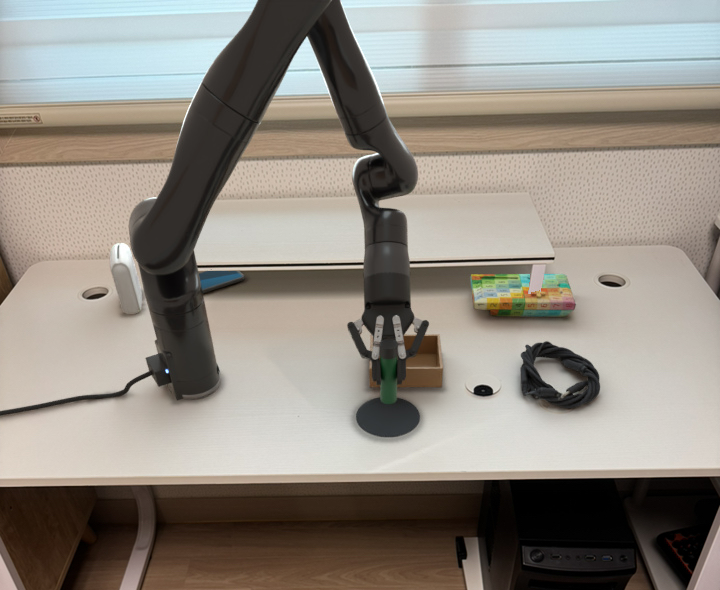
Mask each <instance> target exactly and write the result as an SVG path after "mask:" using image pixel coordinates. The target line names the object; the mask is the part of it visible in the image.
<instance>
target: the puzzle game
mask: <svg viewBox="0 0 720 590" xmlns="http://www.w3.org/2000/svg"><path fill="white" fill-rule="evenodd" d="M530 274H531V273H487V274H486V273H485V274H477V273H476V274H475V273H473V274H470V279H469V280H470V288H471V295H472V302H473V308H474V309H475V310H478V311H479V310H480V311H489V314H490V315H491V316H492V317H547V318H548V317H554V318H555V317H556V318H557V317H558V318H560V317H561V318H563V317H567V316H568V315H569V314H571V313H572V312H573V311H575V310H576V305H577V304H576V301H575V297H574V294H573V292H572V291H573V290H572V288H571V286H570V283H569V279H568V275H567V274H564V273H543V274H544V280H543V284H542V288H541V292H540V290H539V291H535V292H531V294H528V290H529V282H530Z"/></svg>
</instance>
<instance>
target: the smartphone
mask: <svg viewBox="0 0 720 590" xmlns="http://www.w3.org/2000/svg"><path fill="white" fill-rule="evenodd" d="M199 277H200V281H201V286H202V292H203V294H207V293H209V292H212V291H216V290H219V289H221V288H224V287H227V286H230V285H233V284H236V283H240V282H242V281H244V280H245V279H246V276H245V274H244V273H242V272H241V271H240V270H239V271H230V272H229V271H208V270H205V271H202V272H199Z"/></svg>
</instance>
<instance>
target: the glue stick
mask: <svg viewBox="0 0 720 590" xmlns="http://www.w3.org/2000/svg"><path fill="white" fill-rule="evenodd" d="M397 356H398V342H397V341H396V340H394V339H384V340H382V341H381V342H380V367H381V385H380V387H379V392H380V393H379V397H380V400H381V402H383V403H385V404H392V403H395V402H396V400H397V398H398V387H397Z"/></svg>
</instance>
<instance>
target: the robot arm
mask: <svg viewBox="0 0 720 590" xmlns="http://www.w3.org/2000/svg"><path fill="white" fill-rule="evenodd" d="M306 39H307V41H308V43H309V45H310V48H311V49H312V52H313V55H314V57H315V60H316V63H317V65H318V67H319V70H320V73H321V76H322V78H323V81H324V85H325V86H326V89H327V91H328V95H329V97H330V100H331V102H332V105H333V107H334V111H335V113H336V116H337V118H338V121H339V123H340V126H341V128H342V131H343V133H344V136H345V138H346V140H347V143H348V144H349V146H350V147H351V148H352V149H354V150H357V151H358V150H359V151H369V152H370V151H371V152H375V153H373V154H368V155H364V156H362V157H359V158H358V159H357V160H356V162H355V163H354V165H353V168H352V171H351V181H352V186H353V189H354V192H355V195H356V199H357V202H358V206H359V210H360V213H361V218H362V222H363V239H364V243H363V244H364V256H363V266H362V267H363V273H362V276H363V305H364V307H363V312H362V315H361V318H359V319H357V320H355V321H349V322H347V324H346V326H347V331H348V333H349V336H350V337H351V340H352V341H353V343H354V345H355V348H356V349H357V352H358V353H359V355H360V357H361V358H362V359H363V360H364V359H365V360H368V361H369V362H370V361H371V363H372V379H373V381H376V385H381V367H380V360H379V355H380V342H381V341H382V340H384V339H394V340H396V341H397V342H398V360H397V385H400V384H402V381H405V378H406V360H407V359H409V358H411V357H412V358H413V357H415V356H416V354H417V352H418V349H419V347H420V345H421V342H422V340H423V338H424V336H425V334H427V331H428V329H429V326H430V322H429V321H428V319H424V320H423V319H420V318H417V317H415V314H414V312H413V310H412V300H411V299H412V298H411V297H412V296H411V262H410V256H409V240H408V236H409V235H408V233H409V232H408V219H407V215H406V213H404V212H403V211H402V210H401V209H397V208H392V207H380V201H385V200H390V199H395V198H398V197H403V196H404V197H405V196H407V195H410V194H411V193H413V191H414V190H415V189H416V187H417V185H418V180H419V169H418V165H417V162H416V159H415V158H414V156H413V153H412V152H411V150H410V149H409V147H408V146H407V145H406V142H405V141H403V139H402V138H401V136H400V135H399V133H398V131H397V130H396V128H395V127H394V125H393V123H392V122H391V120H390V118H389V116H388V112H387V109H386V106H385V103H384V100H383V98H382V97H383V96H382V95H381V91H380V88H379V86H378V83H377V81H376V78H375V76H374V74H373V71H372V69H371V66H370V65H369V63H368V60H367V59H366V57H365V55H364V52H363V50H362V48H361V47H360V44H359V43H358V40H357V38H356V36H355V34H354V30H353V29H352V27H351V24H350V22H349V19H348V17H347V14H346V11H345V7H344V5H343V3H342V0H257V1H256V3H255V5H254V7H253V9H252V11H251V13H250V15H249V16H248V18H247V20H246V21H245V23H243V25H242V27H241V28H240V29H239V30H238V32H237V33H236V34H235V35H234V36H233V38H231V39H230V41H229V42H228V43H227V44H226V45H225V46H224V48H223V49H222V50H221V51H220V52H219V53H218V55H217V56H216V57H215V59H214V60H213V62H212V63H211V65H210V66H209V68H208V69H207V70H206V73H205V74H204V76H203V78H202V81H201V82H200V83H199V86H198V87H197V90H196V92H195V94H194V95H193V97H192V99H191V102H190V104H189V106H188V109H187V111H186V114H185V117H184V119H183V122H182V124H181V125H182V126H181V129H180V133H179V136H178V139H177V143H176V147H175V150H174V155H173V158H172V162H171V166H170V169H169V172H168V175H167V177H166V179H165V182H164V184H163V186H162V188H161V190H160V191H159V193H158V195H157V196H156V197H148V198H145V199H143V200H142V201H140V202H139V203H137V204H136V205H135V207H133V209H132V211H131V212H130V215H129V219H128V233H129V244H130V250H131V253H132V256H133V258H134V259H135V261H136V262H137V265H138V269H139V274H140V278H141V283H142V288H143V293H144V298H145V301H146V305H147V309H148V312H149V315H150V319H151V323H152V326H153V327H152V328H153V330H154V334H155V337H156V339H155V340H154V344H155V348H156V352H157V353H156V354H152V355H150V356H147V357H145V362H146V365H147V368H148V369H147V370H148V371H147V372H144V373H142V374H140V375H138V376H136V377H134V378H132V379H131V380H130V381H128V382H127V383H126V384H125V386H124V388H123V389H121V390H119V391H116V392H111V393H98V394H83V395H76V396H71V397H66V398H61V399H57V400H51V401H47V402H43V403H42V402H41V403H38V404H32V405H26V406H22V407H16V408H10V409H4V410H0V417H3V416H8V415H9V416H10V415H13V414H20V413H26V412H31V411H36V410H40V409H41V410H42V409H45V408H51V407H55V406H60V405H64V404H69V403H75V402H81V401H88V400H103V399H111V398H119V397H121V396H123V395H126V394H127V393H128V392H129V391H130V389H131V388H132V386H133V385H135V384H137V383H138V382H140V381H142V380H145V379H146V378H149V377H152V379H153V380H154V382H155V383H156V385H157V386H158V388H160V387H163V386H167V387H168V389H169V392H170V393H171V394H172V396H173V397H174V398H175V400H176V401H181V400H198V399H203V398H206V397H208V396H210V395H211V394H213V393H214V392H216V391H217V390H218V389H219V388H220V386H221V384H222V383H221V382H222V379H221V371H220V367H219V365H218V362H217V357H216V353H215V347H214V342H213V337H212V331H211V327H210V323H209V317H208V313H207V307H206V303H205V297H204V293H203V292H202V286H201V281H200V277H199V273H200V272H199V268H198V263H197V259H196V254H195V248H196V246H197V243H198V240H199V238H200V235H201V233H202V231H203V229H204V226H205V223H206V222H207V219H208V216H209V215H210V212H211V210H212V208H213V205H214V204H215V202H216V200H217V199H218V197H219V195H220V194H221V192H222V191H223V189H224V187H225V185H227V182H228V181H229V179H230V178H231V175H232V174H233V173H234V170H235V169H236V167H237V165H238V164H239V162H240V160H241V158H242V156H243V155H244V153H245V151H246V150H247V148H248V147H249V145H250V144H251V141H252V140H253V137H254V136H255V135H256V132H257V130H258V129H259V127H260V125H261V123H262V121H263V119H264V117H265V115H266V114H267V111H268V109H269V107H270V105H271V103H272V101H273V100H274V98H275V95H276V94H277V92H278V91H279V88H280V86H281V85H282V83H283V80H284V78H285V76H286V75H287V72H288V70H289V68H290V67H291V65H292V62H293V60H294V59H295V56H296V54H297V53H298V51H299V49H300V48H301V46H302V45H303V43H304V41H305V40H306ZM411 325H413V327H414V328H413V332H414V333H415V334H417V335H416V337H415V339H414V341H413V344H412V346H411V348H410V349H408V350H405V346H404V339H403V336H404V334H406V333H407V331H408V330H409V329H410V327H411ZM363 326H364V327H365V329H366V330H367V331H368V333H369V334H370V335H372V336H373V337H374V341H373V349H372V351H370V349H368V348H367V347H366V345H365V342H364V340H363V338H362V336H361V334H362V333H363Z"/></svg>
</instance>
